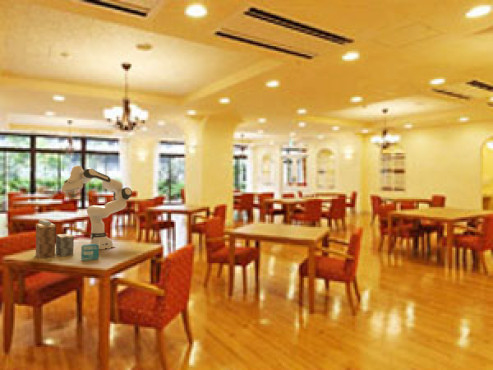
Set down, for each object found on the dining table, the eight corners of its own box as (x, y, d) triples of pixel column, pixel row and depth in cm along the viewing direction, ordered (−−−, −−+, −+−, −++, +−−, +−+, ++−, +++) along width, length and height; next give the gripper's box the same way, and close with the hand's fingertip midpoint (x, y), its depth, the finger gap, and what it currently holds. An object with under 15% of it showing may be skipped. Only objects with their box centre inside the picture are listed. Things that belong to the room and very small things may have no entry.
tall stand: (50, 254, 304) (51, 223, 304) (54, 256, 294) (55, 224, 294) (35, 255, 297) (36, 223, 296) (39, 258, 287) (40, 225, 287)
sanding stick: (43, 222, 308) (43, 219, 308) (50, 225, 292) (50, 221, 292) (38, 222, 305) (38, 219, 305) (45, 225, 289) (45, 222, 289)
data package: (82, 261, 283) (82, 245, 283) (81, 260, 287) (81, 244, 286) (98, 259, 290) (98, 244, 290) (96, 258, 294) (97, 243, 294)
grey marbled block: (68, 252, 313) (68, 233, 313) (73, 254, 304) (73, 235, 304) (55, 253, 307) (56, 234, 307) (60, 256, 297) (60, 236, 297)
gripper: (86, 180, 329) (83, 193, 322) (67, 185, 334) (64, 198, 327) (81, 176, 324) (78, 189, 316) (62, 182, 329) (59, 195, 322)
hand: (70, 194), depth 322 cm, fingers open, 8 cm apart
